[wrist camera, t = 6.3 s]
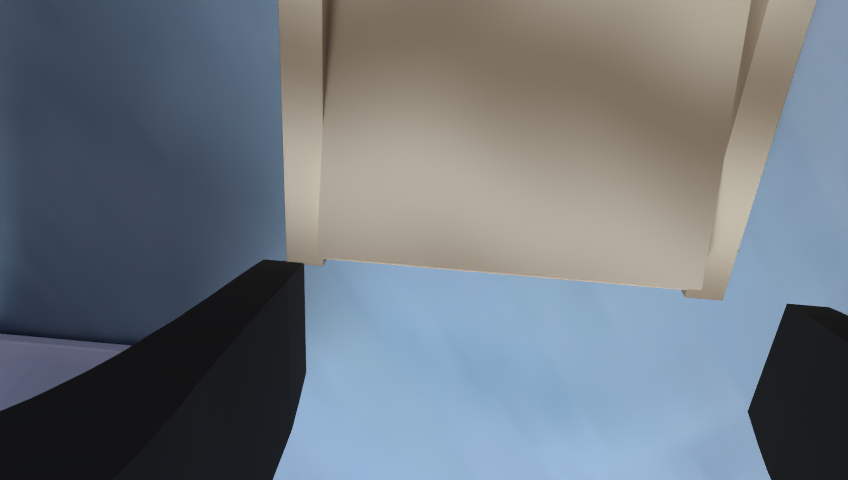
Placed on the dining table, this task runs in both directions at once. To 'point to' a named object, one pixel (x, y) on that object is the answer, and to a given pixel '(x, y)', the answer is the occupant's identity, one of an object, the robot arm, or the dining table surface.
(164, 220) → the dining table surface
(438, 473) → the dining table surface
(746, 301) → the dining table surface
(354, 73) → the tray
